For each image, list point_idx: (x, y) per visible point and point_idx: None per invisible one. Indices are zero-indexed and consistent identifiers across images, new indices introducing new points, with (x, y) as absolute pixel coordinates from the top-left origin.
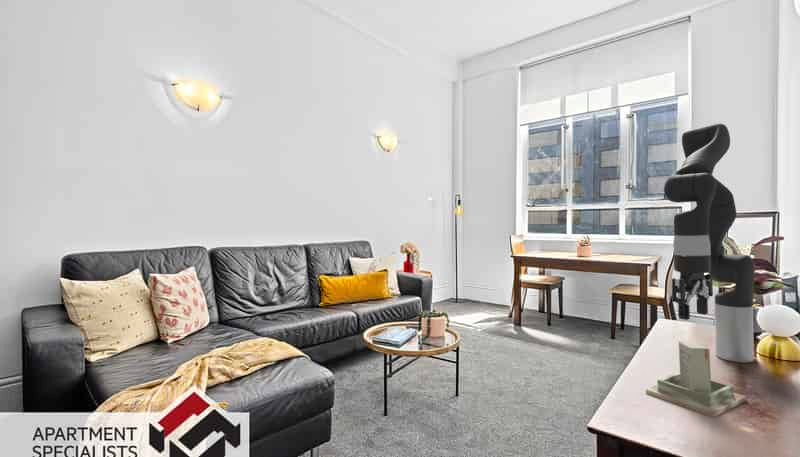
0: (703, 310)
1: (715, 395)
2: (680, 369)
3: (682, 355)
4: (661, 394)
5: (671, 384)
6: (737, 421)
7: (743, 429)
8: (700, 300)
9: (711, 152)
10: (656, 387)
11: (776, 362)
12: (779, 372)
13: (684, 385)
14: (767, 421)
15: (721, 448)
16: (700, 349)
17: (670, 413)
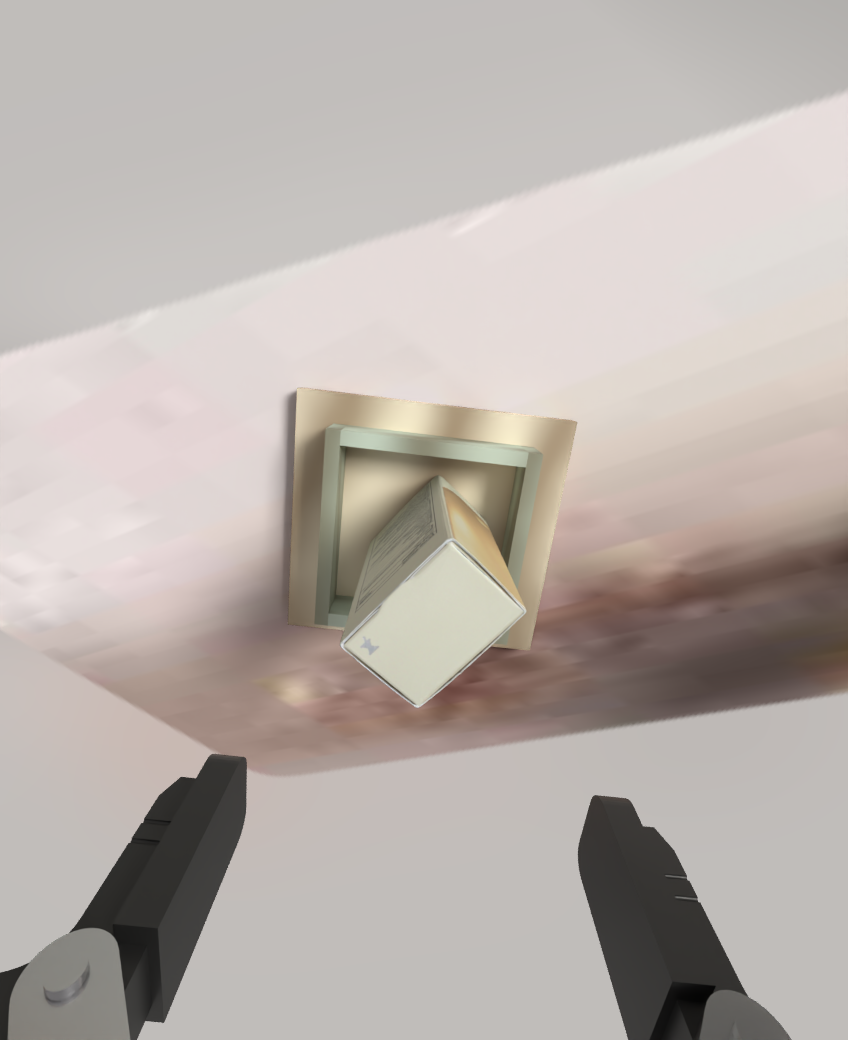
0: (596, 878)
1: None
2: (433, 498)
3: (413, 544)
4: (296, 455)
5: (324, 490)
6: (326, 666)
7: (284, 689)
8: (654, 1004)
9: None
10: (353, 410)
11: None
12: None
13: (409, 505)
14: (399, 713)
15: (114, 685)
16: (379, 675)
17: (200, 525)
